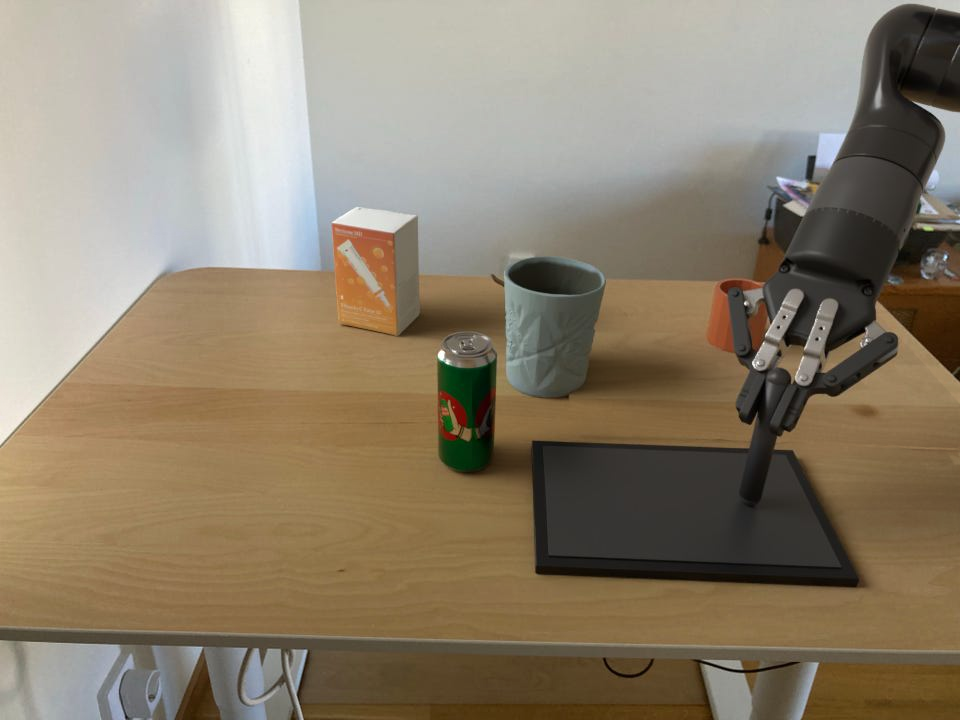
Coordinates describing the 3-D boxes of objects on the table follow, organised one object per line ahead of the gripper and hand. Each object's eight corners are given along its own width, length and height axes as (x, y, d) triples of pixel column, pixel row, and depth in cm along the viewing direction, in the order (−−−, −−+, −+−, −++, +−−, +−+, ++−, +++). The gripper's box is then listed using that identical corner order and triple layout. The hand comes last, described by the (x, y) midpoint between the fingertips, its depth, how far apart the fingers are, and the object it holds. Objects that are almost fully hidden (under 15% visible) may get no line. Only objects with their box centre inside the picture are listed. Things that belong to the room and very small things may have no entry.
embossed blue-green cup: (484, 365, 85) (486, 264, 79) (561, 346, 89) (569, 249, 84) (531, 411, 78) (538, 303, 72) (613, 388, 82) (626, 284, 76)
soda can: (488, 439, 73) (491, 327, 67) (498, 472, 69) (502, 355, 63) (435, 444, 72) (433, 331, 67) (442, 478, 68) (441, 360, 62)
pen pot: (752, 332, 93) (764, 279, 90) (767, 357, 88) (780, 302, 85) (700, 330, 94) (710, 277, 90) (712, 355, 88) (722, 300, 85)
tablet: (790, 457, 72) (793, 448, 71) (856, 587, 58) (860, 577, 57) (531, 447, 72) (531, 438, 72) (535, 574, 58) (535, 564, 58)
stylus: (756, 496, 65) (789, 363, 59) (762, 510, 64) (797, 375, 57) (734, 495, 65) (765, 362, 59) (740, 509, 64) (772, 375, 57)
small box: (337, 325, 93) (329, 221, 87) (363, 304, 98) (356, 204, 92) (398, 337, 91) (394, 232, 84) (421, 315, 96) (419, 214, 89)
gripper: (760, 186, 61) (665, 379, 59) (951, 228, 54) (851, 450, 52) (771, 233, 68) (686, 408, 65) (944, 275, 60) (854, 475, 58)
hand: (759, 426), depth 59 cm, fingers closed on stylus, 2 cm apart
